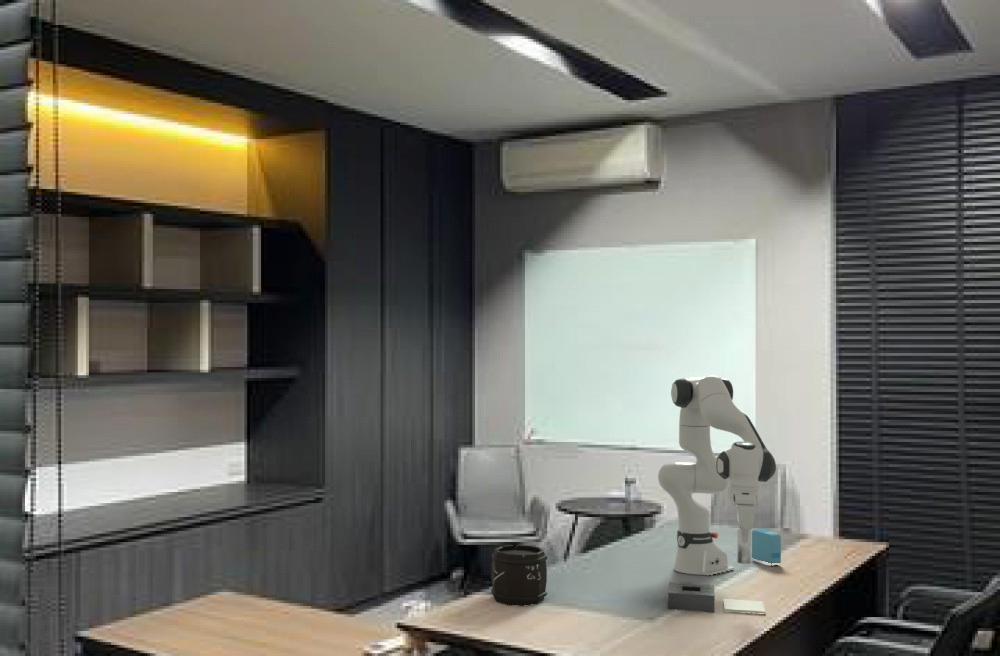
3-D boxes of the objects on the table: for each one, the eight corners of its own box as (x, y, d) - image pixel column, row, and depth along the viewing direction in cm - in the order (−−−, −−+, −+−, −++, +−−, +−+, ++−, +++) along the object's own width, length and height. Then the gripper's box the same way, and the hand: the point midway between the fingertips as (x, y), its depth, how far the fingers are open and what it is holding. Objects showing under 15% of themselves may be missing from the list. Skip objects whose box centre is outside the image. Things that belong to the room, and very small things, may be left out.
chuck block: (669, 597, 300) (669, 581, 300) (713, 600, 297) (713, 584, 297) (667, 609, 286) (667, 592, 286) (714, 612, 283) (714, 595, 283)
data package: (781, 566, 347) (781, 534, 347) (770, 567, 345) (771, 534, 346) (761, 559, 358) (761, 528, 358) (751, 560, 356) (751, 529, 357)
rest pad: (723, 601, 295) (723, 598, 295) (762, 604, 293) (762, 601, 293) (724, 612, 283) (724, 608, 283) (765, 614, 281) (765, 611, 281)
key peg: (744, 560, 291) (744, 528, 291) (753, 563, 288) (753, 530, 288) (734, 561, 289) (734, 529, 289) (743, 564, 286) (744, 531, 286)
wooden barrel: (504, 589, 307) (505, 541, 308) (554, 596, 299) (555, 547, 300) (479, 602, 291) (480, 551, 292) (531, 609, 283) (532, 557, 284)
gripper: (732, 489, 300) (732, 532, 299) (735, 499, 280) (735, 545, 279) (753, 490, 298) (752, 533, 298) (757, 500, 278) (756, 546, 278)
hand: (744, 539), depth 289 cm, fingers closed on key peg, 4 cm apart
